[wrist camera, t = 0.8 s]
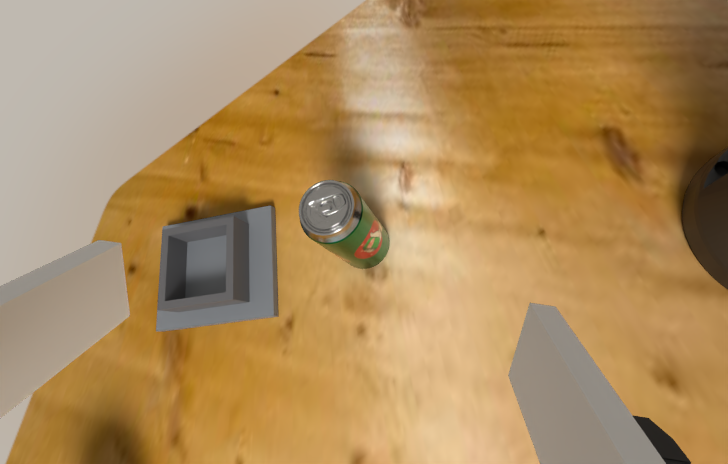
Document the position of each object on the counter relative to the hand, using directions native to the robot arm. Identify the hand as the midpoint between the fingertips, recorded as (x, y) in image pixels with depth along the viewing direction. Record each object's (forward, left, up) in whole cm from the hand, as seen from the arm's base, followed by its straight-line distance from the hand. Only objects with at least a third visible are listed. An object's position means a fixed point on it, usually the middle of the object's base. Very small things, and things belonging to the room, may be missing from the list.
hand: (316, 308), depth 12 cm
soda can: (+4, -9, -25) cm, 27 cm away
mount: (+21, -9, -25) cm, 34 cm away
